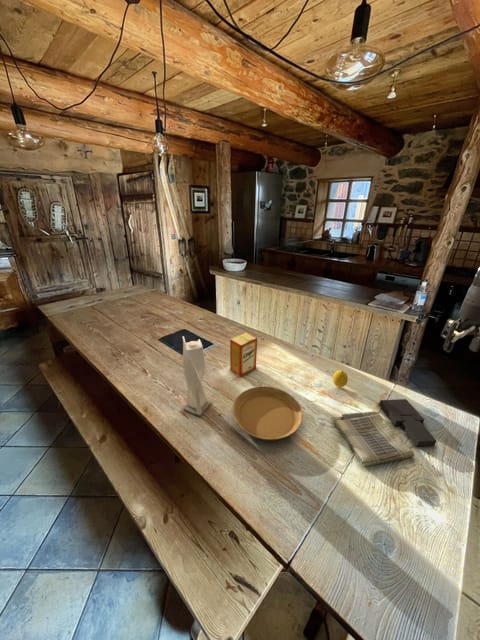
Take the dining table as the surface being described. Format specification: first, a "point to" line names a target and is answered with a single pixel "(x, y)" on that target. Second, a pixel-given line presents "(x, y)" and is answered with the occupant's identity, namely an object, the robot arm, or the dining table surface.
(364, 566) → the dining table surface
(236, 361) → the baking soda box
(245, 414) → the plant saucer
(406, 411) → the notch pad
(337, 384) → the lemon
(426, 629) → the dining table surface
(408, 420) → the pad
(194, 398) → the skyscraper
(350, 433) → the dish towel
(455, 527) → the dining table surface
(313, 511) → the dining table surface
